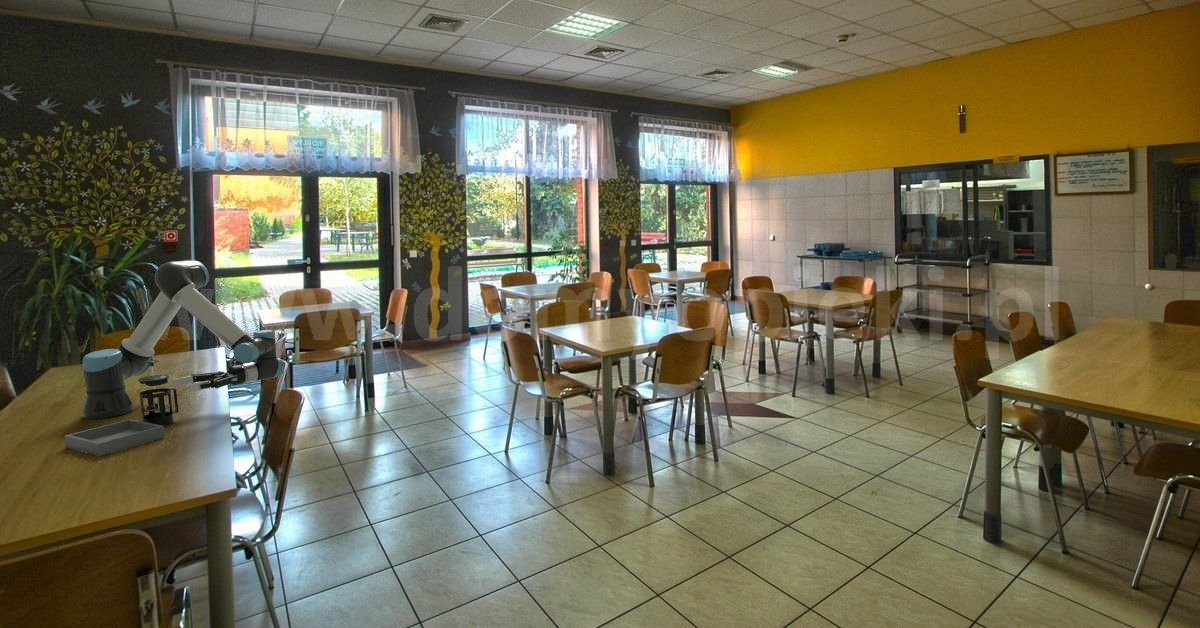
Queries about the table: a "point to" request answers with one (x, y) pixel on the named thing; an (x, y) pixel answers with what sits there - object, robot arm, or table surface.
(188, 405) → the table surface
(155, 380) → the french press
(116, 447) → the tray
